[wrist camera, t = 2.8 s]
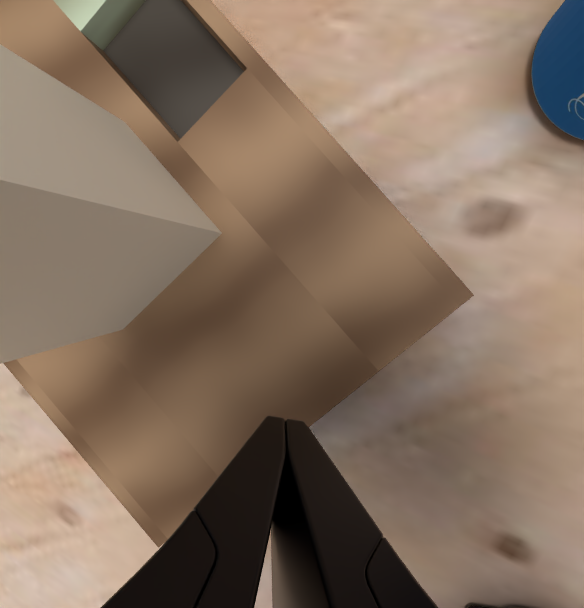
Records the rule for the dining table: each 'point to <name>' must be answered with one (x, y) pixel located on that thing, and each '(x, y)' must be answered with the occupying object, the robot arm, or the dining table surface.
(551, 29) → the beverage can
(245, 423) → the tray
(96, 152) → the cream block
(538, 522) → the dining table surface
